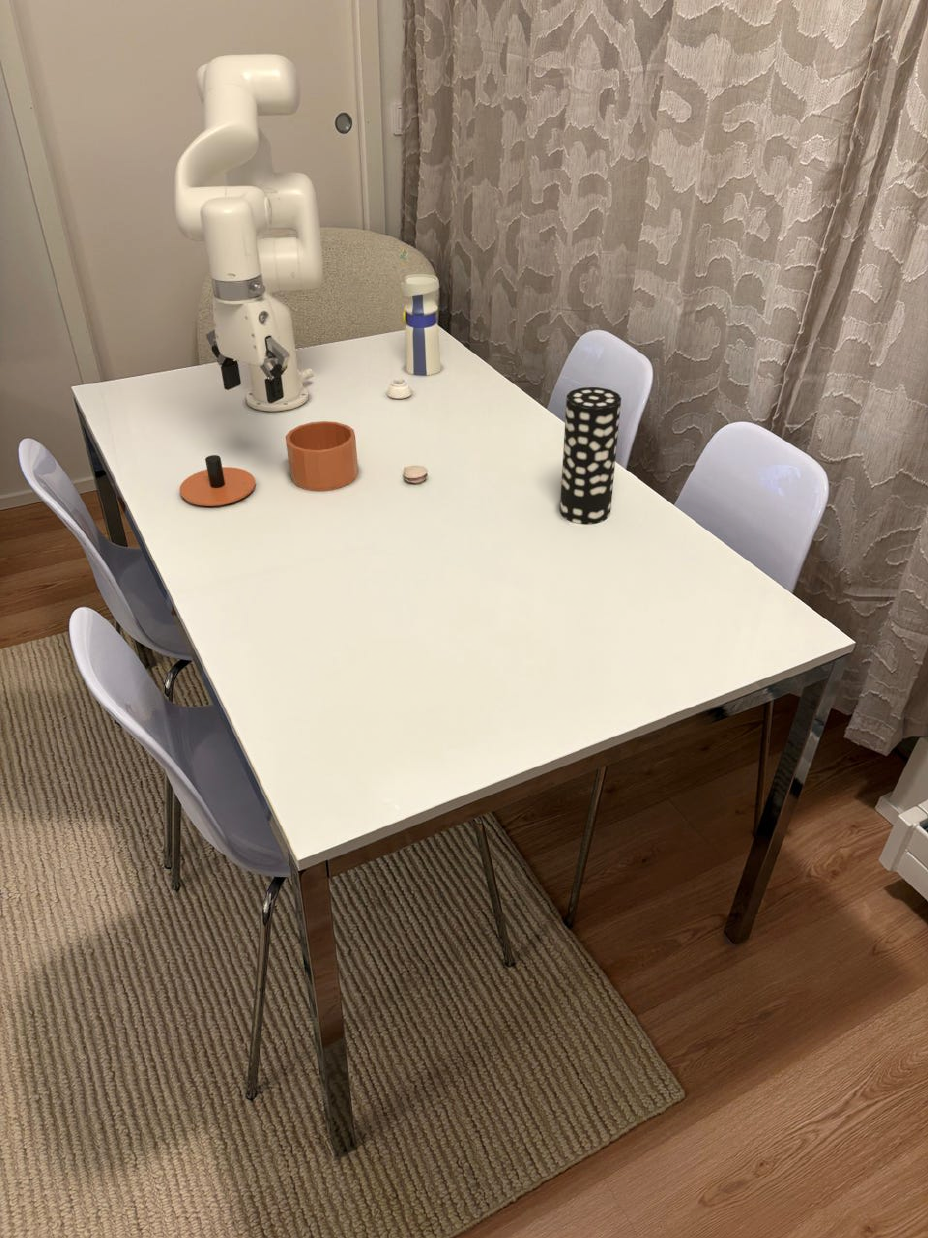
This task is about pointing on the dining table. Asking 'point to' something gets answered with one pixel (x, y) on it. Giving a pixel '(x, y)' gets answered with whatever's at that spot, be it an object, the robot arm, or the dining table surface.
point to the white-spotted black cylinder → (589, 454)
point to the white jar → (399, 389)
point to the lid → (217, 484)
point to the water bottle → (420, 323)
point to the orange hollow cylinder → (322, 455)
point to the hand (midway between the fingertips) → (254, 393)
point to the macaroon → (415, 474)
